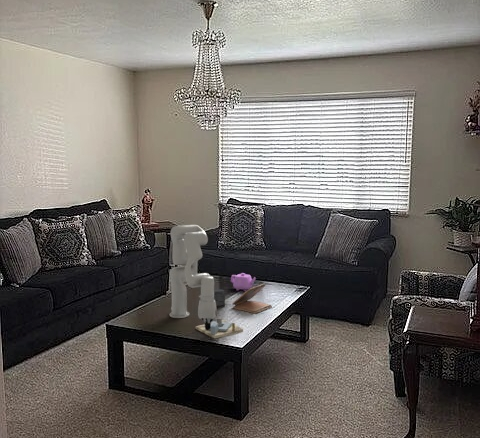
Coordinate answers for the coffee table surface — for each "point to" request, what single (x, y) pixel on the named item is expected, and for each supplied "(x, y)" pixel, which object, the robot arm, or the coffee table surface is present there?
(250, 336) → the coffee table surface
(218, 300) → the small box
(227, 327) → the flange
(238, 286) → the teapot
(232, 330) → the post fixture
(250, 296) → the case
